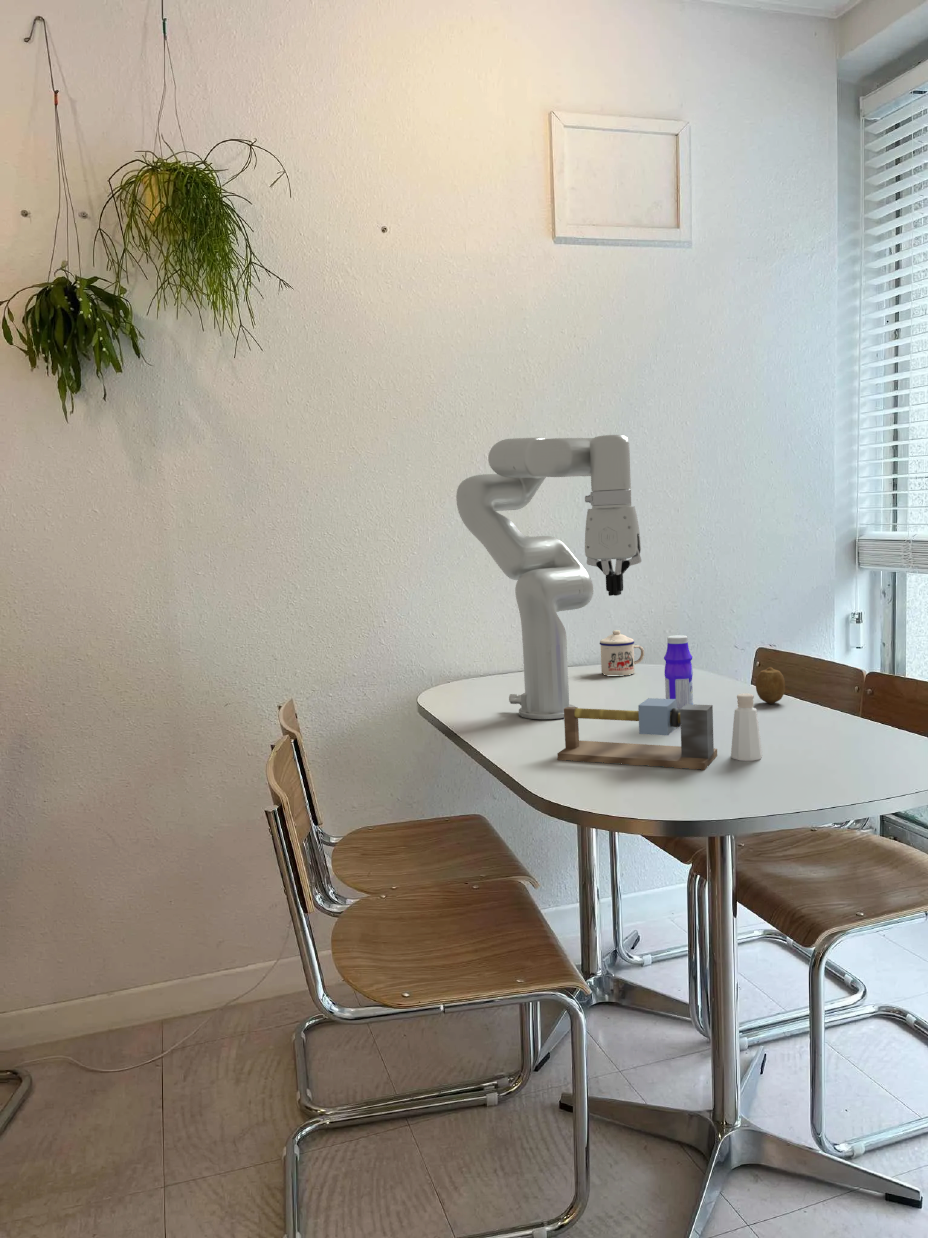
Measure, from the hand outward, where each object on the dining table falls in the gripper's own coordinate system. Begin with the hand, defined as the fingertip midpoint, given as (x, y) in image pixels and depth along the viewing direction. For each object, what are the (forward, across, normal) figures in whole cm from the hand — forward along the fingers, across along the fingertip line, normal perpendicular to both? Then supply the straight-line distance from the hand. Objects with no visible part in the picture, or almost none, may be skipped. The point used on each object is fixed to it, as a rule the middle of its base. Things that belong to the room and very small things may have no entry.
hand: (614, 594), depth 190 cm
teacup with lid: (+27, -19, +64) cm, 72 cm away
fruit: (+27, +24, +32) cm, 49 cm away
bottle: (+27, +9, +12) cm, 31 cm away
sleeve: (+22, +13, -19) cm, 32 cm away
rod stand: (+27, +9, -19) cm, 34 cm away
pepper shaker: (+27, +27, -14) cm, 41 cm away
